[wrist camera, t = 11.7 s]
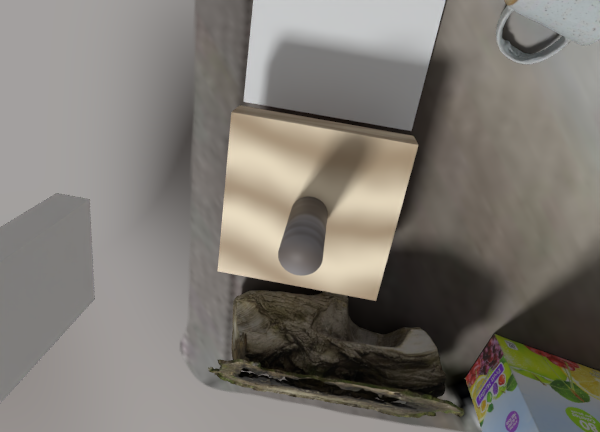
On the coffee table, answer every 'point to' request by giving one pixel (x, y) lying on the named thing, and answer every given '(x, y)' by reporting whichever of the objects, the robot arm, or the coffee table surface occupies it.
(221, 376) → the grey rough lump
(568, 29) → the ceramic mug
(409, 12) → the mat
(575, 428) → the snack box
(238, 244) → the lid
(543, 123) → the coffee table surface
